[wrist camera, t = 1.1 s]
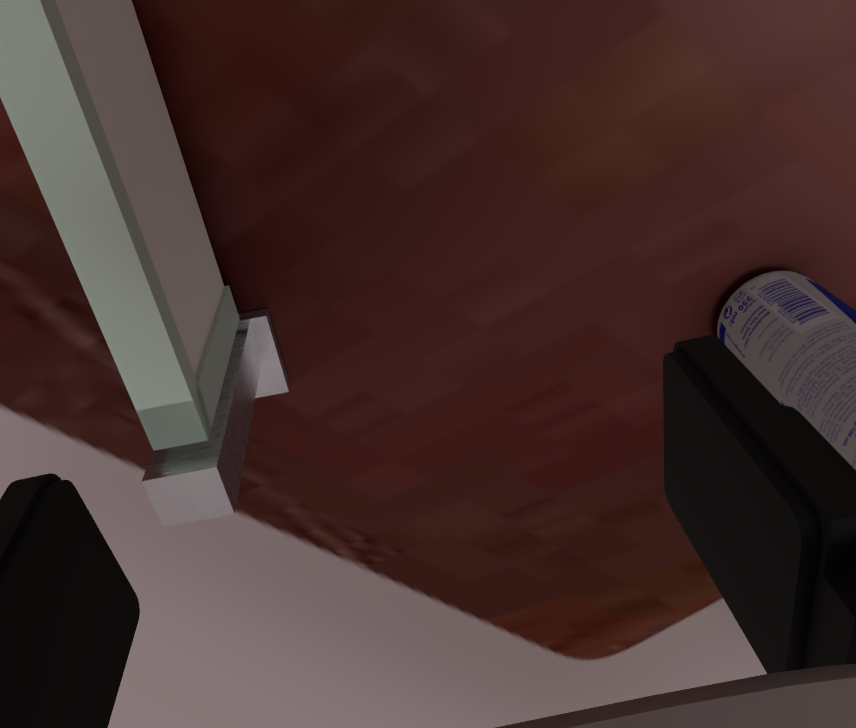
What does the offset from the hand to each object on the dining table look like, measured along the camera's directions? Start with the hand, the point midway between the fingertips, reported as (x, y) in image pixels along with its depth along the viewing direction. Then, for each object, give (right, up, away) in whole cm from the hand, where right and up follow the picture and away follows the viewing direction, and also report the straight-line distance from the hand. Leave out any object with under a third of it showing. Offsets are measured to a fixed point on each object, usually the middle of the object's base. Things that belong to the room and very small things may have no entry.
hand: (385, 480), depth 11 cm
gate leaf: (-10, +12, +15) cm, 22 cm away
